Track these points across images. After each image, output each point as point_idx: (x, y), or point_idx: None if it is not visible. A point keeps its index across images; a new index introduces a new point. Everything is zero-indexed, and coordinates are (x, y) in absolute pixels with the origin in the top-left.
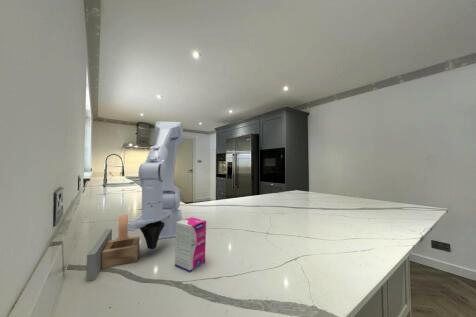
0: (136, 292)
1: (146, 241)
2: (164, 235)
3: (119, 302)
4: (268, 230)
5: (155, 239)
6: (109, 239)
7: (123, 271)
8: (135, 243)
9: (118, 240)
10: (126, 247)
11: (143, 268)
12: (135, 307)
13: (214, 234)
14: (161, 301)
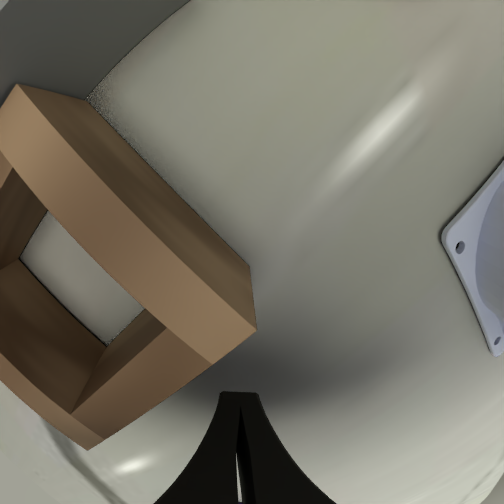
0: (41, 460)
1: (209, 429)
2: (482, 291)
3: (6, 443)
4: (472, 499)
5: (240, 482)
6: (63, 26)
7: None
8: (104, 415)
9: (48, 185)
10: (32, 396)
11: None
12: (28, 472)
13: (480, 443)
14: (71, 500)
